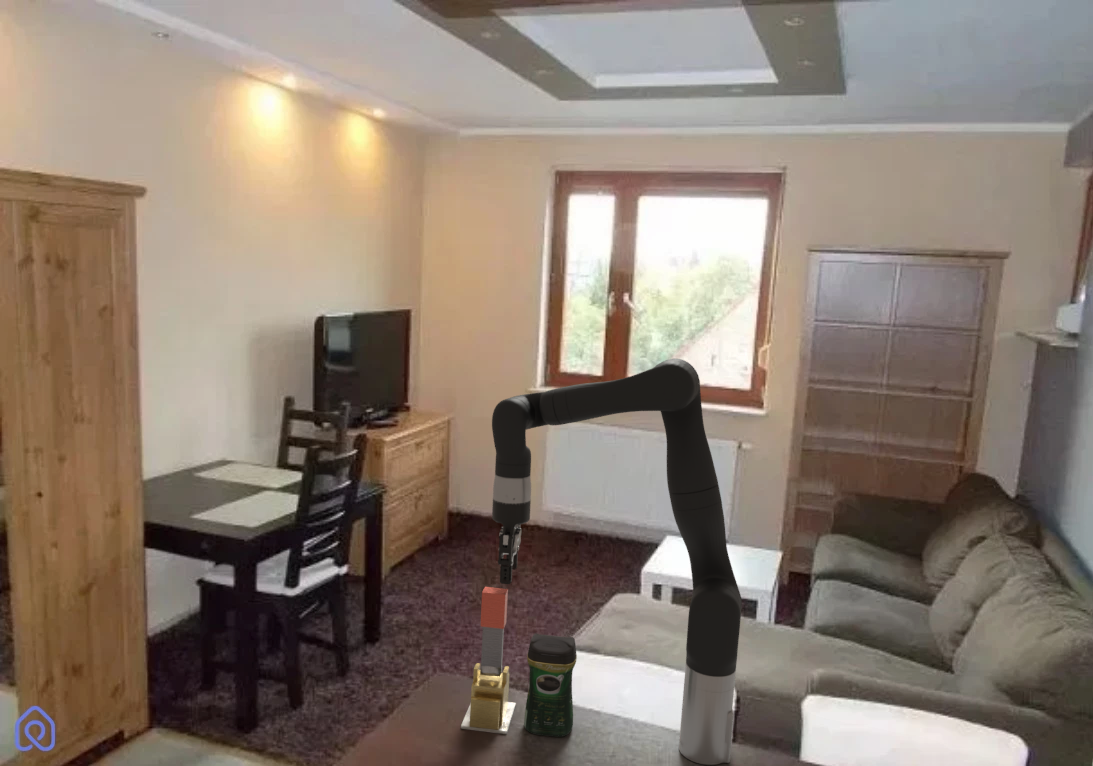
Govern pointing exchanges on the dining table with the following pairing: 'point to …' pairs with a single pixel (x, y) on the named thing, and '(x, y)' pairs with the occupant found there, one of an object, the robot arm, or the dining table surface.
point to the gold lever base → (489, 703)
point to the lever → (493, 630)
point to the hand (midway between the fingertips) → (508, 575)
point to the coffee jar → (550, 685)
